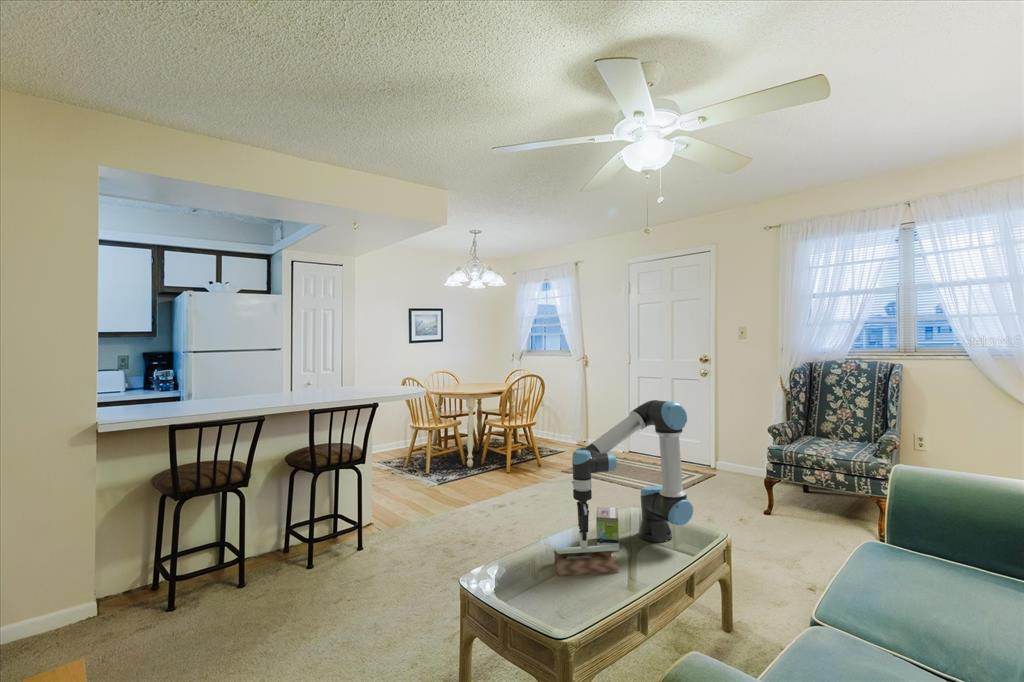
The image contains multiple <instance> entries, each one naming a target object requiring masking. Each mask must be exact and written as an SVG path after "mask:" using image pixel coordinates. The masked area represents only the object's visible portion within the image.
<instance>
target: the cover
mask: <svg viewBox="0 0 1024 682" xmlns="http://www.w3.org/2000/svg"><path fill="white" fill-rule="evenodd" d="M615 550H617V549H616V548H615V547H613V546H611V545H600V546H597V545H588V548H581V547H580V546H570V547H567V546H565V547H555V548H554V551H556V552H557V553H558V554H565V553H581V552H598V551H611V552H616V551H615Z"/></svg>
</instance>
